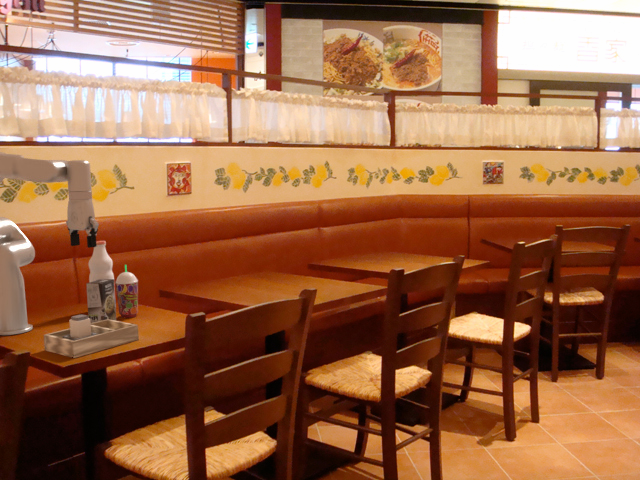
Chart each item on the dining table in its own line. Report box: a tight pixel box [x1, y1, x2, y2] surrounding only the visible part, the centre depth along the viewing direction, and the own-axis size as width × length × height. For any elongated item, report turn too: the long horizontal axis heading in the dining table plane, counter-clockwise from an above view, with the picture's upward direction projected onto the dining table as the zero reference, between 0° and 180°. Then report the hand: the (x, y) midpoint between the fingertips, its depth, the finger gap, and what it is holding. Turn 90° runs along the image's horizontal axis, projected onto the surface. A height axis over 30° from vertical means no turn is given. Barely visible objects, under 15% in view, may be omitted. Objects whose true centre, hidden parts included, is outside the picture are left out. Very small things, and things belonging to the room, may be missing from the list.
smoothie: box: [114, 264, 139, 319], centre depth 253 cm, size 8×8×20 cm
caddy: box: [43, 319, 139, 359], centre depth 215 cm, size 16×24×5 cm, turn 144°
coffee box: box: [85, 278, 117, 323], centre depth 241 cm, size 9×6×16 cm
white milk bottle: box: [88, 240, 117, 307], centre depth 263 cm, size 9×9×28 cm
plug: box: [68, 314, 91, 338], centre depth 211 cm, size 4×4×9 cm
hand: (83, 246), depth 228 cm, fingers open, 9 cm apart
